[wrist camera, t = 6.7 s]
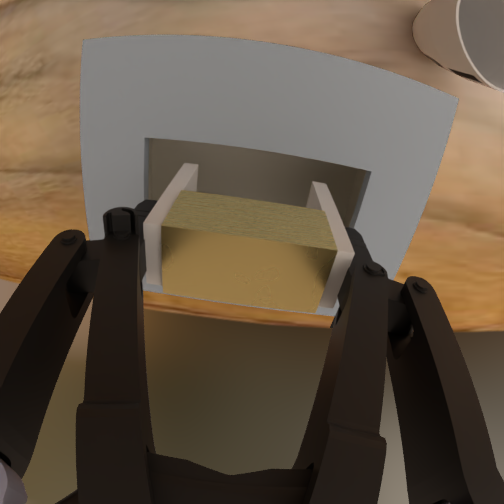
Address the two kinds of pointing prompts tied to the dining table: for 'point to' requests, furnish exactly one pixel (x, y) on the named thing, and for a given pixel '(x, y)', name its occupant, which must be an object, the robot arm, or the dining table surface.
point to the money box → (260, 131)
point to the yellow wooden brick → (246, 251)
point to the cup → (464, 38)
